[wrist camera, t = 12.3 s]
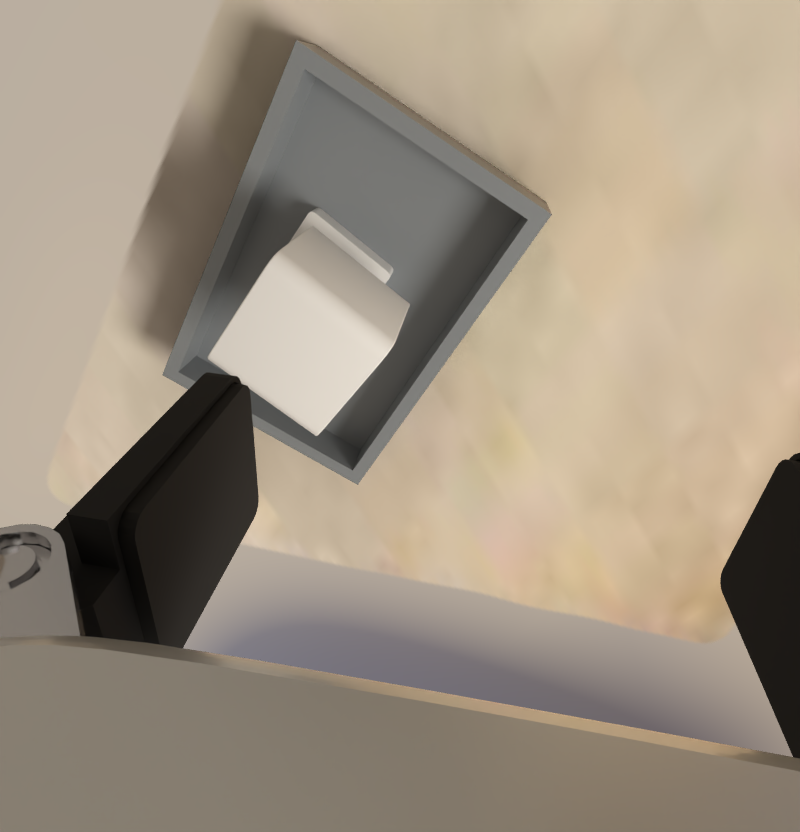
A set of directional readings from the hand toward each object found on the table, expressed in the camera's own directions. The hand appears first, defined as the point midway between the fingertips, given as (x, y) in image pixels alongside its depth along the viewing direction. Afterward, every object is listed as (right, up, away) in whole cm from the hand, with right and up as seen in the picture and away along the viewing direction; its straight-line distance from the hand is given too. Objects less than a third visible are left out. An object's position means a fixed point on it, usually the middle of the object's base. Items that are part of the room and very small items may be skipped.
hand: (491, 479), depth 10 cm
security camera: (-5, +9, +23) cm, 25 cm away
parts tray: (-5, +9, +24) cm, 26 cm away
